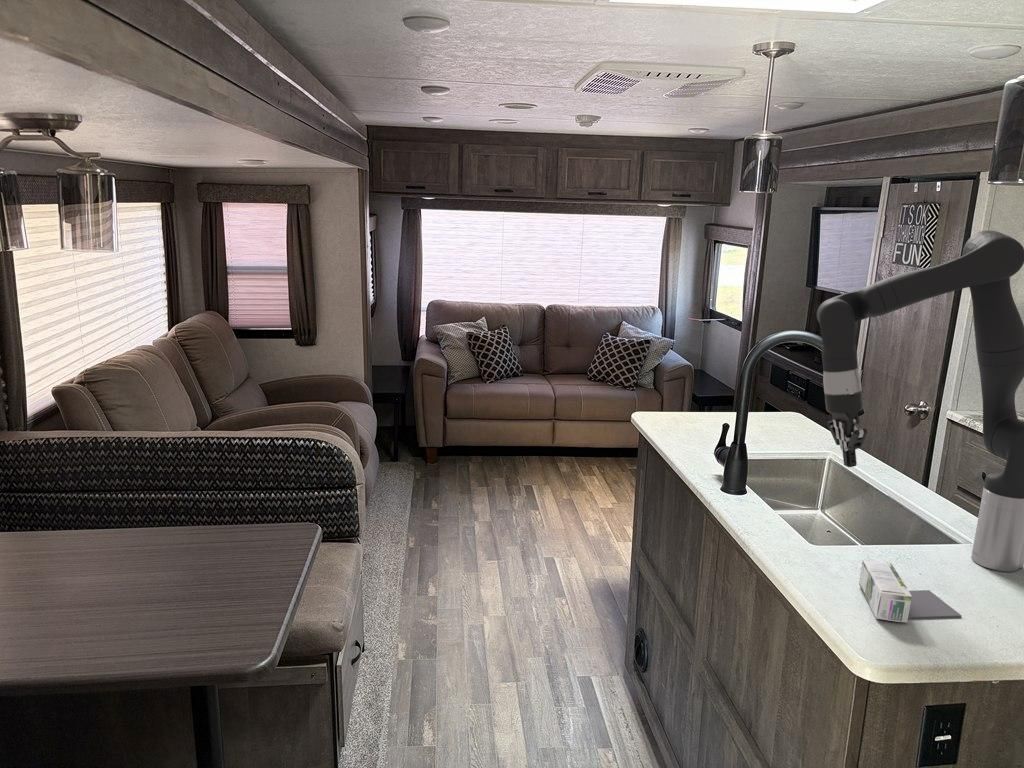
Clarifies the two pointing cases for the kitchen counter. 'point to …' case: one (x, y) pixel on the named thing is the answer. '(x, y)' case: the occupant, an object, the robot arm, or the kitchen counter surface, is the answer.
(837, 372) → the robot arm
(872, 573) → the syrup box
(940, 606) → the mat
